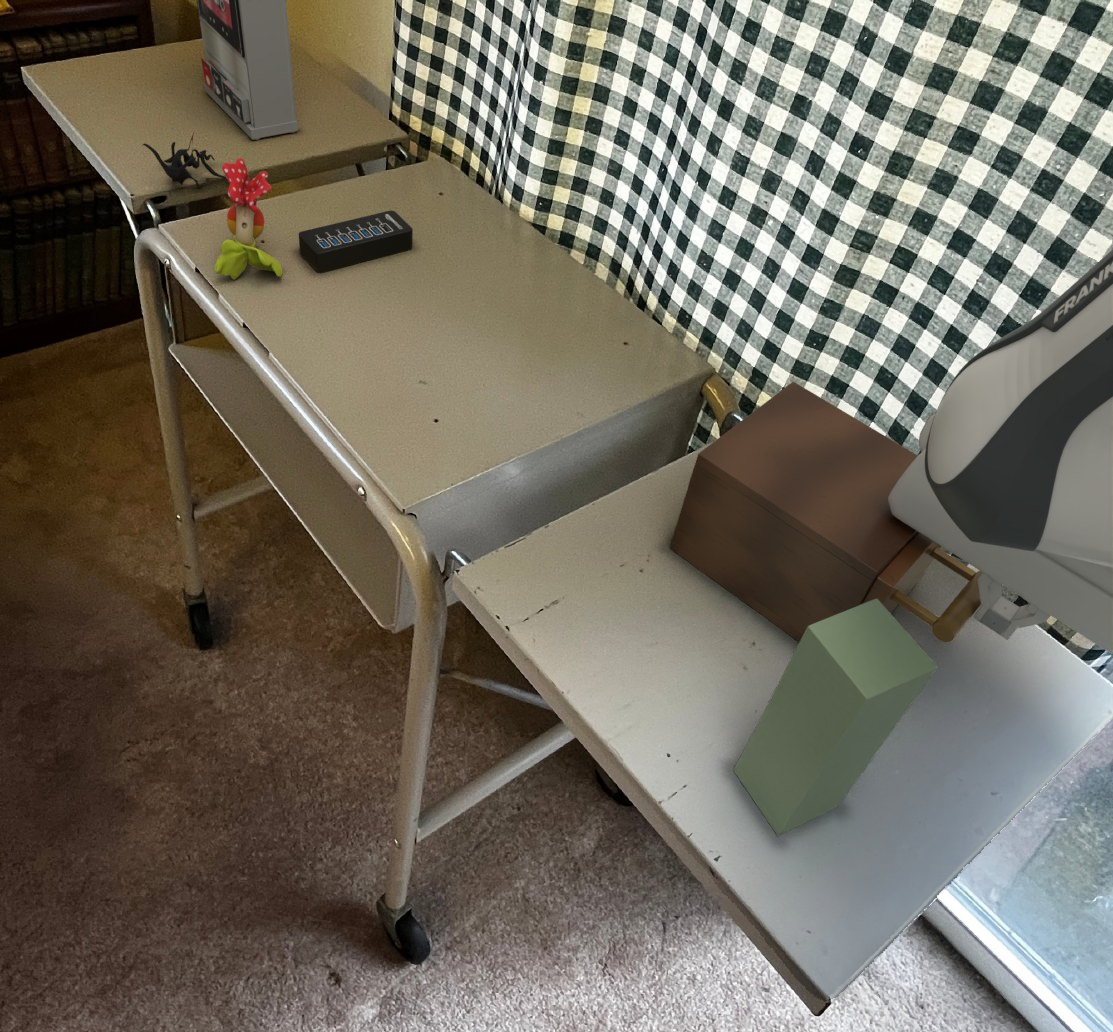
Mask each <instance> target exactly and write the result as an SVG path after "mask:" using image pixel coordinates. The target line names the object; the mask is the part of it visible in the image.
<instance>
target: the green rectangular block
mask: <svg viewBox="0 0 1113 1032" xmlns="http://www.w3.org/2000/svg"><path fill="white" fill-rule="evenodd" d="M937 669H938V665H937V664H936V663H935V662H934V660H933V659H931V657H930V656H929V655H928V654H927V653H926V652H925V650H924V649H923V648H922V647H921V646H920V645H919V644H918V643H917V641H916V640H915V639H914V638H913V637H912V635H910V633H909V632H908V631H907V630H906V629H905V628H904V627H903V626H902V625H901V623H900V622H899V621H898V620H897V619H896V617H894V615H893V614H892V612H891V613H890V612H889V611H888V610H887V609H886V608H885V607H884V605H883V604H882V603H881V602H880V601H879V600H878V599H874V600H871V601H869V602H866V603H864V604H861V605H859V606H856V607H854V608H851V609H849V610H846V611H844V612H841V613H839V614H836V615H834V616H831V617H829V618H826V619H824V620H821V621H819V622H816V623H814V624H811V625H809V626H808V627H807V629H806V631H805V633H804V635H803V636H802V638H801V640H800V642H799V641H798V644H797V646H796V648H795V650H794V652H793V654H792V656H791V658H790V659H789V662H788V664H787V665H786V668H785V669H784V672H782V673H783V674H782V676H781V678H780V679H779V681H778V684H777V685H776V687H775V689H774V691H773V693H772V694H771V697H770V698H769V700H768V703H767V704H766V706H765V708H764V710H763V713H762V714H761V716H760V718H759V720H758V722H757V724H756V725H755V728H754V730H753V732H752V734H751V736H750V738H749V740H748V742H747V743H746V746H745V748H744V749H743V751H742V754H741V755H740V756H739V759H738V761H737V763H736V765H735V767H734V769H733V772H734V773H735V775H736V777H737V778H738V779H739V781H740V782H741V784H742V785H743V786H744V788H745V790H746V792H747V793H748V794H749V795H750V797H751V798H752V800H753V801H754V804H755V805H756V807H757V808H758V809H759V811H760V812H761V813H762V815H763V816H764V818H765V819H766V821H767V822H768V824H769V825H770V827H771V828H772V830H773V831H774V833H775V834H776V836H777V837H779V836H782V835H784V834H786V833H788V832H790V831H792V830H794V829H796V828H798V827H800V826H801V825H804V824H806V823H808V822H810V821H811V820H814V819H815V818H817V817H820V816H822V815H824V814H825V813H828V812H829V811H832V810H834V809H836V808H837V807H839V806H840V805H841V803H842V801H844V799H845V798H846V796H847V795H848V793H849V792H850V791H851V789H852V788H853V786H854V785H855V784H856V782H857V781H858V780H859V778H860V777H861V775H862V774H863V773H864V771H865V769H866V768H867V767H868V766H869V764H870V763H871V761H872V760H873V758H875V756H876V754H877V753H878V752H879V750H880V749H881V748H882V747H883V744H884V743H885V742H886V740H887V738H889V737H890V735H891V733H892V732H893V731H894V729H895V728H896V727H897V725H898V724H899V722H900V721H901V719H902V718H903V717H904V715H905V714H906V713H907V712H908V710H909V708H910V707H911V705H912V704H913V703H914V701H915V700H916V699H917V697H918V695H919V694H920V693H921V692H922V690H923V689H924V687H925V686H926V685H927V683H928V682H929V681H930V680H931V678H932V676H933V675H934V673H935V672H936V670H937Z"/></svg>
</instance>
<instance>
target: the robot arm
mask: <svg viewBox="0 0 1113 1032" xmlns="http://www.w3.org/2000/svg"><path fill="white" fill-rule="evenodd" d="M918 447H919V450H920V453H919V454H918V456H917V458H916V459H915V460H914V461H913V462H912V463H911V464H910V466H909V467H908V468H907V469H906V471H905V472H904V473H903V475H902V476H901V477H900V479H899V480H898V482H897V483H896V485H895V486H894V488H893V489H892V491H891V493H890V494H889V497H888V502H889V506H890V509H891V513H892V514H893V515H894V516H895V517H896V518H897V519H899V520H901V521H902V522H904V523H905V524H907V525H908V526H910V527H912V528H913V529H915V530H916V531H918V532H920V533H921V534H923V535H924V536H926V537H928V538H929V539H931V540H932V541H934V542H935V543H937V544H939V545H940V546H941V548H943V549H945V550H946V551H948V552H949V553H951V554H953V555H954V556H956V557H957V558H959V559H961V560H962V561H964V562H965V563H966V564H968V565H970V566H972V567H973V568H975V569H977V570H978V571H981V572H983V573H982V574H981V576H980V577H979V579H978V586H979V594H980V601H981V603H982V604H981V606H980V607H979V608H978V609H977V611H976V612H975V613H974V614H973V616H972V618H973V619H975V620H976V621H978V622H979V623H980V624H982V625H984V626H985V627H987V628H988V629H990V630H992V631H993V632H995V633H996V635H997V634H998V635H999V636H1001V637H1002V638H1003V639H1004V640H1006V641H1009V639H1011V637H1012V636H1013V635H1014V633H1015V632H1016V631H1017V629H1018V628H1019V629H1023V628H1027V627H1031V626H1032V627H1033V626H1036V625H1040V624H1041V625H1042V624H1045V623H1046V622H1047V621H1048V619H1049V618H1050V617H1053V618H1054V619H1056V620H1057V621H1058V622H1060V623H1062V624H1063V625H1065V626H1066V627H1068V628H1070V629H1071V630H1073V631H1074V632H1076V633H1077V634H1079V635H1081V636H1082V637H1084V638H1086V639H1087V640H1089V641H1090V642H1092V643H1094V644H1095V645H1097V646H1098V647H1100V648H1101V649H1103V650H1104V651H1106V652H1108V653H1109V654H1111V655H1112V656H1113V249H1111V250H1110V251H1109V252H1108V253H1106V254H1105V256H1103V257H1102V258H1101V259H1100V260H1099V261H1098V262H1097V263H1095V264H1094V265H1093V266H1092V267H1091V268H1090V269H1089V270H1088V271H1087V272H1085V273H1084V274H1083V275H1082V276H1081V277H1079V279H1077V280H1076V281H1075V282H1074V283H1073V284H1072V285H1071V286H1069V288H1068V289H1066V290H1065V291H1064V292H1063V293H1062V294H1061V295H1060V296H1059V297H1057V298H1056V299H1055V300H1054V301H1053V302H1052V303H1051V304H1050V305H1048V306H1047V307H1046V308H1044V310H1042V311H1041V312H1040V313H1039V314H1037V315H1036V316H1035V317H1033V318H1032V319H1030V320H1029V321H1028V322H1025V323H1024V324H1023V325H1021V326H1019V327H1018V328H1016V329H1014V330H1012V331H1011V332H1009V333H1007V334H1005V335H1004V336H1002V337H1001V338H999V339H997V340H996V341H993V342H992V343H991V344H990V345H988V346H987V347H985V348H983V349H982V350H981V351H979V352H978V353H977V354H976V355H974V356H973V357H972V358H971V359H969V361H968V362H966V363H964V365H963V366H962V367H961V368H960V370H959V371H958V372H957V374H956V375H955V376H954V378H953V379H952V381H951V382H950V384H949V385H948V387H947V389H946V390H945V392H944V394H943V396H942V398H941V399H940V402H939V404H938V406H937V409H936V410H935V411H933V412H932V413H931V414H929V416H928V417H927V419H926V421H925V423H924V425H923V427H922V429H921V431H920V432H919V437H918ZM1002 586H1003V587H1005V588H1006V589H1008V590H1010V591H1011V592H1013V593H1014V594H1016V595H1018V596H1019V597H1021V598H1022V599H1024V600H1026V601H1027V602H1028V604H1024V605H1021V606H1019V605H1017V604H1015V603H1014V602H1012V601H1010V600H1009V599H1007V598H1006V597H1005V596H1003V590H1002V589H1003V588H1002Z"/></svg>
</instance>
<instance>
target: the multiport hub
mask: <svg viewBox="0 0 1113 1032" xmlns="http://www.w3.org/2000/svg"><path fill="white" fill-rule="evenodd" d="M413 231H414V229H413V227H412V226H411V225H410V224H409V223H408V222H407V221H406V220H405V219H404V218H403V217H401V216H400V215H399V213H398V212H396V211H395V210H392V209H391V210H387V211H382V212H378V213H373V214H369V215H366V216H361V217H357V218H352V219H349V220H348V219H347V220H344V221H340V222H336V223H331V224H327V225H322V226H318V227H315V228H310V229H307V230H301V231H299V232H298V244H299V253H300V255H301V256H302V257H303V259H304V260H305V261H306V262H307V264H309V266H310V267H311V268H312V269H313V270H314V271H315V272H316V273H318V274H322V273H327V272H331V271H334V270H338V269H342V268H346V267H349V266H354V265H357V264H362V263H365V262H369V261H373V260H376V259H377V260H378V259H381V258H385V257H388V256H391V255H395V254H399V253H403V252H407V251H411V250H412V249H413V240H414V239H413V237H414V236H413V235H414V233H413Z"/></svg>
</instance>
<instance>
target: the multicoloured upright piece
mask: <svg viewBox="0 0 1113 1032" xmlns="http://www.w3.org/2000/svg"><path fill="white" fill-rule="evenodd" d="M221 170H222V171H223V174H224V176H225V177H226V178H227V179H226V180H227V181H228V183H229V186H228V189H227V196H228V197H229V199H230V201H231V202H232V203H233V205H231V206H230V208H229V209H228V211H227V215H226V224H227V228H228V230H229V232H230V233H231V234H232V235H233V237H234V240H232V239H225V240H224V241H223V242H222V243H221V245H220V255H219V257H217V259H216V261H215V265H214V269H213V271H214V273H216V274H218V275H222V276H230V279H232V280H234V281H235V280H236V279H238V278H239V277H240V275H241V274H242V273H243V272H244V271H245V269H246V268H247V265H249V266H252V267H253V268H256V269H257V268H258V269H261V270H263V271H267V272H273V273H275V275H276V277H282V276H283V268H282V265H281V263H280V262H279V260H277V259H276V258H274V257H272V256H271V255H269V254H268V253H267V252H266V251H264V250H261V248H257V246H256V240H255V239H258V238H259V237H260V236H261V235H262V233H263V230H264V229H265V216H264V214H263V211H262V210H261V209H260V208H259V207H258V206H257V204H258V203H257V200H258V199H259V198H261V197H263V196H264V195H266V194H268V193H269V192H270V191H271V190H272V189H273V187H272V186H271V185H270V183H269V182H268V181H267V179H268V177H269V173H268V172H267V171H265V170H262V171H260V172H259V173H258V174H257V175H256V176H255V177H253V178H252V179H251V180H250V178H249V171H248V169H247V165H246V162H245V160H244V158H242V157H239V158H237V159H236V160H235V162H232V163H231V162H224V163H223V164H222V166H221Z"/></svg>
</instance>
